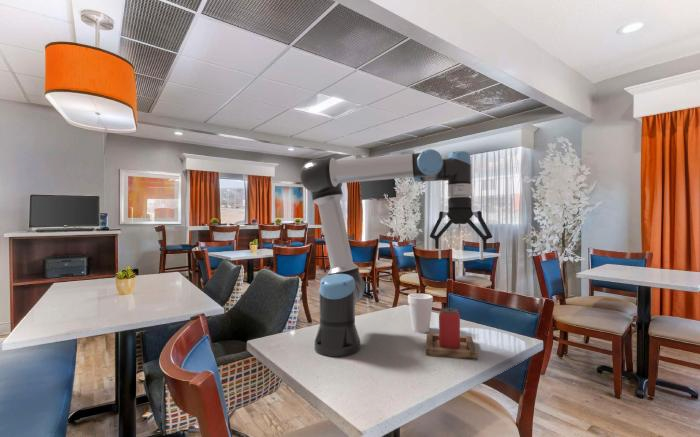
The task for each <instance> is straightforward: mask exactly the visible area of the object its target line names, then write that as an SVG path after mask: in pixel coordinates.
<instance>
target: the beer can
mask: <svg viewBox="0 0 700 437" xmlns="http://www.w3.org/2000/svg"><path fill="white" fill-rule="evenodd" d="M438 334H439V344H440V346H441V347H442V348H450V349H458V348H459V347H460V336H461V316H460V313H459V310H458V309H457V308H454V307H441V308H440V311H439V314H438Z"/></svg>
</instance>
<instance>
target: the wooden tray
mask: <svg viewBox="0 0 700 437" xmlns="http://www.w3.org/2000/svg"><path fill="white" fill-rule="evenodd" d="M425 341H426V342H425V356H429V357H431V356H432V357H441V358H449V359H450V358H452V359H464V360H472V361H473V360H474V361H478V352H477V348H476V346H475V342H474V340H473V338H472V336H471V335H460V347H459V348H458V349H450V348H442V347H441V346H440V344H439V333H429V332H426V339H425Z"/></svg>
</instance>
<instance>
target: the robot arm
mask: <svg viewBox="0 0 700 437" xmlns="http://www.w3.org/2000/svg"><path fill="white" fill-rule="evenodd" d="M471 159H472V158H471V154H470V153H469V152H468V151H465V150H464V151H463V150H461V151H460V150H459V151H458V150H457V151H452V152H449V153H448V155H447V158H442V155H441V153H440V152H439V151H438V150H435V149H431V148H428V149H425V150H423V151H422V152H415V153H405V154H393V155H383V156H374V157H362V158H352V159H341V160H340V159H339V160H338V159H335V158H334V157H328V158H316V159H315V158H314V159H311V160H309V161H307V162H305V163H304V165H302V167H301V169H300V172H299V179H300V182H301V184H302V186H303V187H304V189H306V190H307V191H309V192H310V193H311V198H312V203H314V204H315V205H317V206H318V212H319V217H320V221H321V222H320V223H321V227H322V232H323V236H324V241H325V247H326V251H327V256H328V260H329V265H330V269H328V272H327V274H328V275H325V276H324V277H322V278H321V279H320V280H319V281H320V282H319V288H318V291H319V326H318V330H317V333H316V335H315V340H314V351H315V352H316V353H318V354H320V355H322V356H328V357H346V356H350V355H351V356H352V355H354V354H356V353H358V352H359V351H360V349H361V339H360V336H359V332H358V329H357V327H356V305H357V304H358V303H359V301H361V300H362V298H363V296H364V294H365V290H366V289H365V288H366V286H365V280H364V279H363V277H362V276H361V274H360V268H359V266H358V265H357V264H355V263H354V262H353V261H354V260H353V256H352V250H351V246H350V243H349V242H350V241H349V235H348V232H347V228H346V223H345V218H344V213H343V210H342V209H343V208H342V204H341V200H342V198H343V197H344V195H343V190H342V189H343V188H342V187H343V184H345V183H346V184H347V183H359V182H369V181H371V182H372V181H382V180H383V181H384V180H396V179H407V178H413V181H415V182H421V183H424V182H436V181H437V182H438V181H439V182H440V181H443V182H444V181H448V183H447V184H448V186H447V188H448V190H447V191H448V192H447V196H448V197H449V198H448V200H447V202H448V203H447V205H448V208H447V210H448V211H447V212H446V211H439V213H438V218H437V221H436V222H435V224H434V226H433V229H432V230H431V232H430V234H429V238H431V239H433V240H434V249H435V250H438V260H442V240H441V239H440V238H441V237H442V235H443V234H444V233H445V232H446V231H447V230H448V228H450V226H451V225H452V224H454V225H460V224H461V225H466V224H468V226H470V227H471V229H472V230H473V231H474V232H475V233H476V234H477V235H478V236H479V237H480V238H481V239H479V240H478V241H479V260H481V261H484V250H485V251H486V250H487V240H489V239H491V238H493V235H492V232H491V231H490V229H489V227H488V225H487V223H486V222H485V220H484V218H483V214H482V211H481V210H477V211H473V210H472V198H471V196H472V164H471V161H472V160H471ZM446 216H447V217H448V219H449V220H448V221H447V223H446V224H445V225H444V226H443V227H442V228H441V230H440V231H439V232H438V233H437V231H438V229H439V226H440V225H441V222H442V220H443V219H444V218H446ZM473 216H474V217H475V218H477V220H478V222H479V224H480V226H481V228H482V229H483V231H484V233H485V234H484V233H483V232H482V231H481V230H480V228H478V226H477V225H476V224H475V223H474V222H473V221H472V219H471V218H472V217H473ZM436 233H437V234H436ZM435 234H436V235H435Z"/></svg>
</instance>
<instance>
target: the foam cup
mask: <svg viewBox="0 0 700 437" xmlns="http://www.w3.org/2000/svg"><path fill="white" fill-rule="evenodd" d="M407 302H408V308H409V316H410V323H411V324H410V325H411V330H412V331H413V332H416V333H429V331H430V327H431V326H430V325H431V318H432V309H433V304H434V296H433V295H431V294H429V293H428V294H427V293H409V294H408V295H407Z"/></svg>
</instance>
